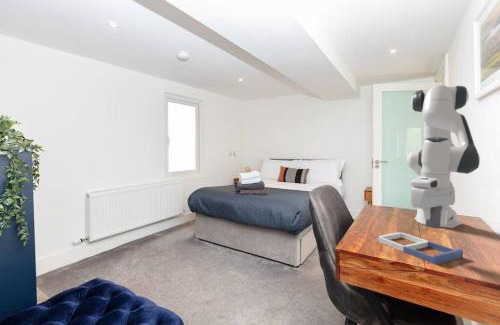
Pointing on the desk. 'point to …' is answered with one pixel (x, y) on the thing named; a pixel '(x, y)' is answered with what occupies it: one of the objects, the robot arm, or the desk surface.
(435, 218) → the smooth grey pebble
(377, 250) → the desk surface
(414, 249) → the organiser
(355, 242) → the desk surface
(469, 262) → the desk surface
